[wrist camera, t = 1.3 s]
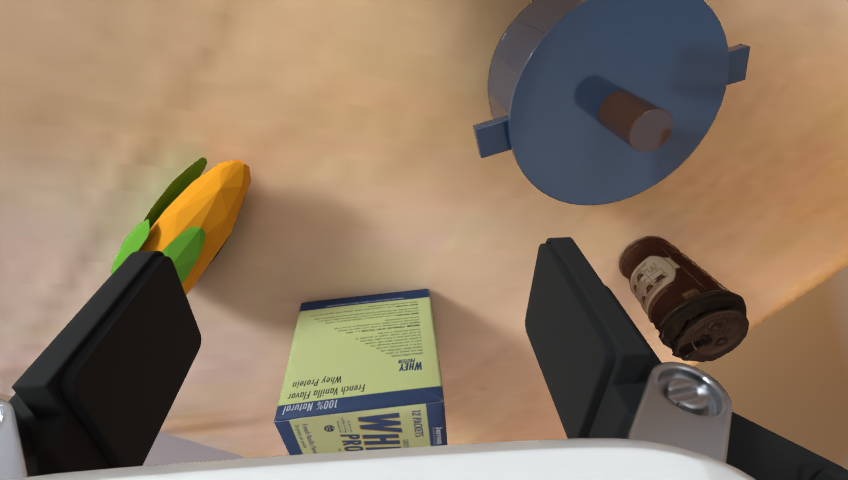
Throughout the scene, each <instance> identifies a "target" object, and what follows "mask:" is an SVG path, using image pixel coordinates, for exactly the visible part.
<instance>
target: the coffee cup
mask: <svg viewBox="0 0 848 480" xmlns="http://www.w3.org/2000/svg"><path fill="white" fill-rule="evenodd" d="M619 268H620V270H621V273H622V275H623V276H625V277H626V278H627V279H628V280H629V283H630V288H631V291H632V293H633V294H634V295H635V296H636V298H637V299H638V301H639V302H640V304H641V307H642V308H643V310H644V311H645V313H646V314H647V316H648V318H649V321H650V322H651V323H654V325H655V328H656V329H657V330H658V331H659V332H660V334H659V338H660V340H661V341H662V343H663V344H664V345H666V346H667V347H669V348H671V349H672V352H673V354H672V355H674V356H675V357H678V358H681V359H682V360H684V361H688V360H689V361H698V362H705V361H713V360H716V359H717V358H720V357H722V356H723V355H725V354H727V353H728V352H730V351H732V350H733V349H734V348H736V347H737V346H738V345H739V344H740V343H741V342H742V340H743V339H744V338H745V337H746V335H747V331H748V327H749V322H748V319H747V317H746V305H745V302H744V300H743V298H742V297H741V296H740V295H737V294H735V293H733V292H730V291H729V290H728V289H726V288H725V287H724V286H722V285H721V284H720V283H719V282H718V281H717V280H715V279H714V278H713V277H712V276H710V275H709V274H708V273H707V272H706V271H705V270H703V269H701V268H700V266H698V265H697V264H696V263H695V262H693V261H692V260H691V259H689V258H688V257H687V256H686V255H685V254H683V253H680V251H679V250H678V249H677V248H676V247H675V246H673V245H671V244H670V243H669V242H668V241H666V240H665V239H663V238H660V237H657V236H647V237H644V238H642V239H639V240H637V241H635V242H634V243H632V244H631V245H630V246H629V247H628V248H627V249H626V250H625V251H624V253H623V254H622V256H621V258H620V262H619Z"/></svg>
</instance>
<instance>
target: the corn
mask: <svg viewBox="0 0 848 480" xmlns="http://www.w3.org/2000/svg"><path fill="white" fill-rule="evenodd" d="M206 164H207V161H206V159H205V158H200V159H199V160H198V161H196V162H195V163H194V164H193V165H191V166H190V167H189V168H188V169H186V170H185V171H184V172H183V173H182V174H181V175H180V176H179V177H177V178H176V179H175V180H174V181H173V182H172V183H171V184H170V186H169V187H168V188H167V189H166V191H165V192H164V193H163V195H162V196H161V197H160V198H159V200H158V201H157V202H156V203H155V205H154V206H153V207H152V209H151V210H150V212H149V213H148V215H147V217H146V218H145V220H144V221H143V222H142V223H140V224H139V225H138V226H137V227H136V228H135V229H134V230H133V231H132V232H131V233H130V234H129V235H128V237H127V238H126V239H125V241H124V243H123V245H122V247H121V249H120V251H119V252H118V254H117V256H116V258H115V260H114V263H113V267H112V270H111V274H113V273H114V272H115V271H116V269H117V268H118V267H119V266H120V265H121V264H122V263H123V262H124V261H125V259H126V258H127V257H128V256H129V255H130V254H131V253H132V252H136V251H161V252H162V253H163V254H164V255H165V256H168V257H170V258H171V259H172V261H173V263H174V266H175V268H176V271H177V273H178V276H179V279H180V281H181V284H182V287H183V289H184V292H185V294H186V295H187V293H188V292H189V291H190V290H191V288H192V287H193V286H194V285H195V283H196V282H197V281H198V279H199V278H200V276H201V275H202V273H203V272H204V271H205V269H206V268H207V267H208V265H209V264H210V263H211V262H212V261H213V259H214V258H215V257H216V256H217V254H218V253H219V251H220V249H221V248H222V246H223V245H224V243H225V242H226V240H227V238H228V237H229V235H230V234H231V232H232V229H233V226H234V224H235V221H236V218H237V216H238V213H239V210H240V208H241V205H242V202H243V200H244V197H245V194H246V192H247V189H248V186H249V183H250V181H251V178H250V171H249V167H248V166H247V165H246V164H244V163H243V162H241V161H240V160H233V161H227V162H221V163H220V164H218V165H217V166H215V167H214V168H212V169H211V170H209V171H208V172H206V173H205V174H203V175H202V176H200V175H201V173H202V172H203V170H204V168H205V166H206Z"/></svg>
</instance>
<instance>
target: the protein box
mask: <svg viewBox="0 0 848 480" xmlns="http://www.w3.org/2000/svg"><path fill="white" fill-rule="evenodd" d="M274 422H275V425H276V427H277V429H278V431H279V433H280V435H281V437H282V439H283V442H284V444H285V446H286V448H287V450H288V452H289V454H290V455H302V454H317V453H332V452H347V451H362V450H377V449H393V448H408V447H425V446H441V445H447V433H446V419H445V406H444V395H443V386H442V378H441V370H440V362H439V355H438V347H437V340H436V332H435V326H434V319H433V312H432V305H431V298H430V291H429V290H428V289H424V290H415V291H406V292H396V293H388V294H378V295H369V296H360V297H351V298H342V299H333V300H324V301H315V302H307V303H302V304H301V307H300V311H299V315H298V320H297V324H296V329H295V333H294V338H293V342H292V346H291V351H290V355H289V359H288V364H287V368H286V372H285V376H284V381H283V385H282V389H281V394H280V398H279V402H278V407H277V412H276V416H275V420H274Z"/></svg>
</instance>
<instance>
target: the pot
mask: <svg viewBox="0 0 848 480" xmlns="http://www.w3.org/2000/svg"><path fill="white" fill-rule="evenodd" d="M581 1H583V0H535V1H534V2H532V3H531V4H529V5H528V6H527V7H526V8H525V9H524V10H523V11H522V12H521V13H519V14H518V16H517V17H516V18H515V19H514V20H513V21H512V23H511V24H510V25H509V27H508V28H507V30H506V31H505V33H504V34H503V36H502V37H501V39H500V41H499V43H498V45H497V47H496V50H495V53H494V55H493V58H492V62H491V65H490V69H489V77H488V97H489V104H490V108H491V112H492V115H493V120H489V121H486V122H483V123H480V124H476V125H473V129H474V134H475V138H476V143H477V147H478V152H479V154H480V156H481V158H484V157H487V156H490V155H494V154H497V153H500V152H504V151H507V150H511V145H510V140H509V132H508V112H509V106H510V100H511V95H512V92H513V89H514V85H515V82H516V80H517V77H518V75H519V72H520V70H521V68H522V66H523V64H524V62H525V60H526V59H527V57H528V55H529V53H530V52H531V50H532V49H533V48H534V46H535V45H536V43H537V42H538V41H539V39H540V38H541V37H542V36H543V34H544V33H545V32H546V31H547V30H548V29H549V28H550V27H551V25H552V24H554V23H555V22H556V21H557V20H558V19H559V18H560V17H561V16H562V15H563V14H565V13H566V12H567V11H569V10H570V9H571V8H573V7H574V6H576V5H577V4H578V3H580V2H581ZM749 51H750V46H747V45H743V44H739V45H735V46H732V47H729V48H728V55H729V70H728V79H727V85H729V84H732V83H735V82H739V81H742V80H745V77H746V70H747V64H748V57H749Z"/></svg>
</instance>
